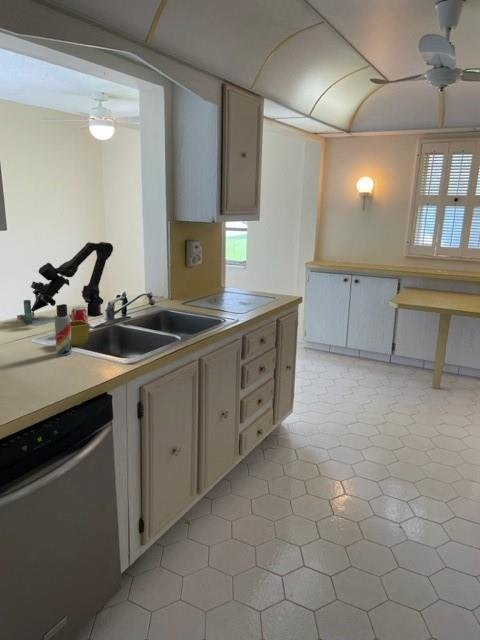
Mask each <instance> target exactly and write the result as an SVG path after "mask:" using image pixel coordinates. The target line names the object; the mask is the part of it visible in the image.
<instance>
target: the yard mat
mask: <svg viewBox="0 0 480 640" xmlns="http://www.w3.org/2000/svg"><path fill="white" fill-rule="evenodd" d="M36 317H37V318H39V319H37V320H32V323H31V324H26V323H25V322H22V323H21V322H17V323H18V324H23V325H27V326H28V325H29V326H33V327H40V326H44V325H48V324H51V323H55V318H52V317H47V316H43V315H39V316H36Z"/></svg>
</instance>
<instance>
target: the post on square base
mask: <svg viewBox="0 0 480 640" xmlns="http://www.w3.org/2000/svg"><path fill="white" fill-rule="evenodd" d="M31 314H32V315H34V319H33V320H37V319H39V318H37V317H38V316H35V311H31Z"/></svg>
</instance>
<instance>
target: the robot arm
mask: <svg viewBox="0 0 480 640" xmlns="http://www.w3.org/2000/svg"><path fill="white" fill-rule="evenodd" d="M94 251H95V254H96V260H95V263H94V266H93V270H92V273H91V277H90V279H89V282H88V284H87V285H83V289H82V290H81V296H82V299H83V300H84V302H85V303H86V304H87V307H86V310H87V312H88V317H89V316H91V317H97V316H102V315H104V312H102V311H101V310H102V309H101V307H102V305H103V304H104V299H103V298H102V297H101V296H100V282H101V280H102V275H103V273H104V269H105V266H106V264H107V263H106V262H107V260H109V258H110V257H111V256H112V254H113V252H114V246H113V244H112V243H110V242H106V241H100V242H98V243H97V242H89V241H88V242H87V243H86V244H85V245H84V246H83V247H82V248H81V249H80V250H78V252H77V253H76V254H75V255H74V256H73V257H72V258H71V259H70V260H68V261H65V262H64V263H62V264H60V265H59V266H58V267H56V268H55V266H53V265H52V263H51V262H46V264H44V265H42V266H41V267H40V268H39V269H38V274H40V275H41V276H42V278H44V279H45V280H46V281H49V282H48V283H45V284H44V282H40V281H39V282H36V281H32V283H31V286H30V288H31V289H33V291H32V294H34V297H35V301H34V304H32V306H31V312H33V311H34V312H35V311H37V310H40V309H42V308H45V307H46V306H49V304H50V306H51V307H54V306H55V305H56V304H57V302H56V299H54V297H55V295H56V294H57V295H58V294H59V292H60V290H61V289H62V288H63V287H64V286H65V285H67V286H70V279H68V278H73V277H74V275H76V273H77V272H78V269H79V266H80V265H81V264H83V262H84V261H86V259H87V258H88V257H89V256H90V255H92V253H93V252H94Z"/></svg>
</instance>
